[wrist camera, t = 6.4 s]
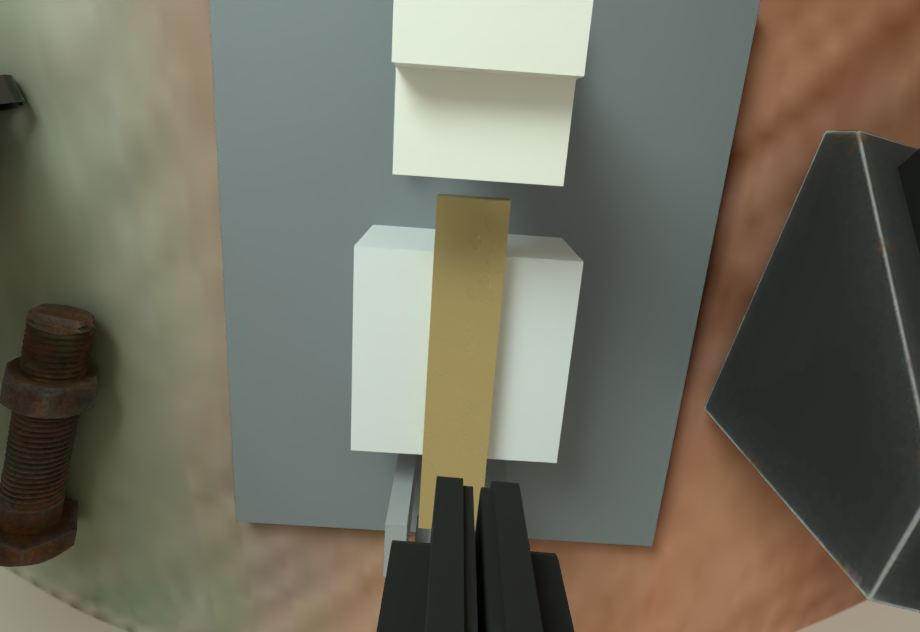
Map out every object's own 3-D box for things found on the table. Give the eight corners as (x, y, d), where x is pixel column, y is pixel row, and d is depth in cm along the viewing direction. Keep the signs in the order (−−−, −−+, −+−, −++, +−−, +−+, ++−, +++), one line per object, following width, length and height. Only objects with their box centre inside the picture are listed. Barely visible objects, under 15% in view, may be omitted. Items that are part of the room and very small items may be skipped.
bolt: (115, 299, 36) (74, 505, 40) (12, 285, 34) (-21, 508, 37) (118, 339, 32) (72, 567, 36) (-1, 327, 29) (-37, 576, 33)
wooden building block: (435, 278, 35) (435, 183, 25) (490, 281, 35) (513, 188, 25) (415, 548, 30) (405, 569, 20) (479, 552, 30) (500, 575, 20)
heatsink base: (219, -37, 29) (110, -110, 20) (746, 3, 30) (871, -50, 21) (244, 507, 39) (177, 623, 30) (645, 530, 39) (700, 653, 30)
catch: (420, 17, 28) (395, -49, 18) (545, 27, 29) (597, -33, 18) (413, 159, 30) (387, 177, 20) (531, 167, 31) (570, 190, 20)
